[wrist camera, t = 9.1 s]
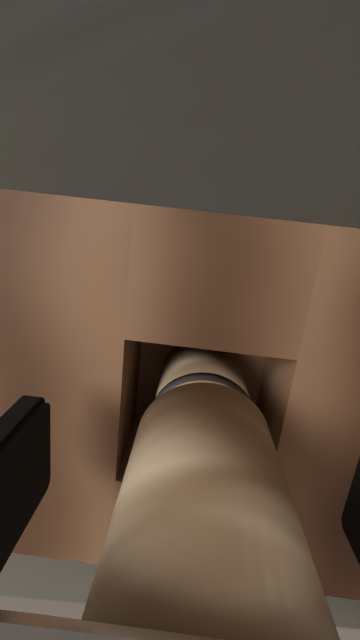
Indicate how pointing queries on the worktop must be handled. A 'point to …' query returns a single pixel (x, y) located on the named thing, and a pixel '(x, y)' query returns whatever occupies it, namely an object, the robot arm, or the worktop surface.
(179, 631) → the peg
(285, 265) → the board
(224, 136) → the worktop surface
